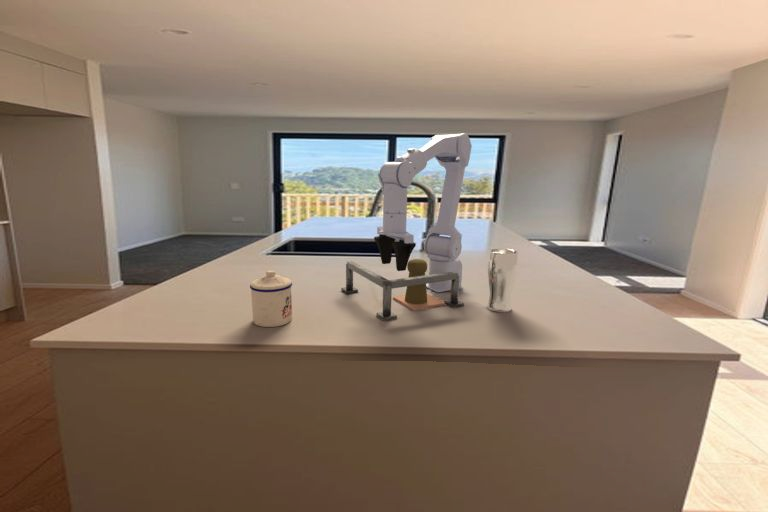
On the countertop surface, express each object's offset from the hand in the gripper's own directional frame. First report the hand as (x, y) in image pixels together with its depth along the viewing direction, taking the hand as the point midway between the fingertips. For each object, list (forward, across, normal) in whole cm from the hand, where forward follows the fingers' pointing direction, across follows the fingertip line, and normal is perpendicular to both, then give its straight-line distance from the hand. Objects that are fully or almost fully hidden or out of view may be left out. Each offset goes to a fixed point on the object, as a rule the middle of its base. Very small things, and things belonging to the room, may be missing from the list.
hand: (393, 266), depth 98 cm
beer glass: (+11, +13, +24) cm, 29 cm away
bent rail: (+10, -5, +5) cm, 13 cm away
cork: (+10, 0, +7) cm, 12 cm away
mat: (+10, 0, +8) cm, 13 cm away
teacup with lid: (+11, -5, -29) cm, 31 cm away
